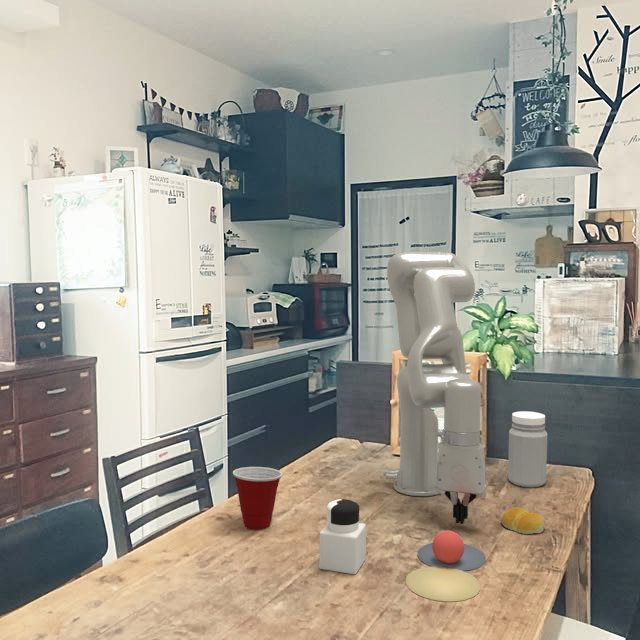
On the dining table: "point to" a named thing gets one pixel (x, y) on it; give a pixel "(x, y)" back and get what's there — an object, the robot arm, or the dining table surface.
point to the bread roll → (522, 521)
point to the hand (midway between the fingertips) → (460, 521)
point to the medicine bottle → (342, 538)
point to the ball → (448, 547)
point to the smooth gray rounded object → (467, 562)
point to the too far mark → (443, 584)
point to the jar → (527, 449)
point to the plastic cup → (257, 495)
